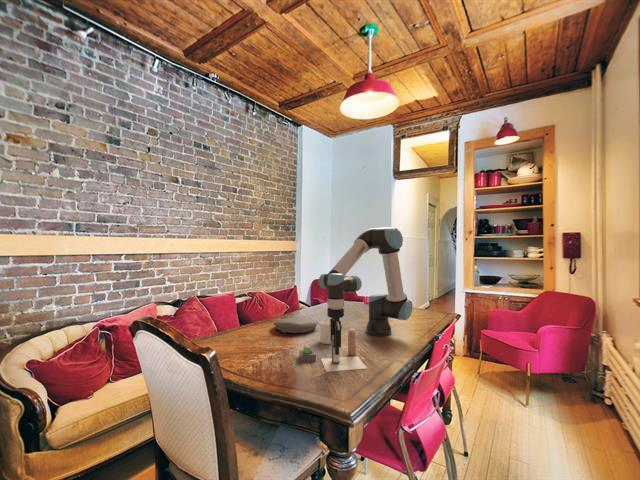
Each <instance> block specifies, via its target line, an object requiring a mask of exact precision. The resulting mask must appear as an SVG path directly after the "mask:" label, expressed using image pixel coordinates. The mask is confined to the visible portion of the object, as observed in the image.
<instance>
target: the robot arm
mask: <svg viewBox="0 0 640 480" xmlns="http://www.w3.org/2000/svg"><path fill="white" fill-rule="evenodd" d="M403 242H404V238H403V234H402V232H401V230H399V229H398V228H397V227H391V226H388V227H373V228H372V227H371V228H368V229H367V230H365V231H364V232H362V233H360V235H359V236H357V238H356V239H354V241H353V245H352V246H351V247H350V248H349V249H348V250H347V251H346V252H345V254H344V255H343V256H342V257H341V258H340V259H339V260H338V262H336V264H335V265H334V266H333V267H332V268H331V269H330V271H329V272H327V273H323V274H320V276H319V278H318V285H319V287H320V288H322V289H325V290H327V300H326V303H327V307H328V308H327V309H326V310H327V311H326V313H327V314H326V316H327V317H329V318H330V319H329V321H330V340H331V343H332V335H334V346H332V344H330V345H331V349H330V350H331V351H330V352H331V355H330V356H331V357H330V358H332V347H333V362H340V357H341V356H340V355H341V351H340V350H341V349H340V348H341V347H342V328H343V326H342V321H341V320H340V319H341V318H344V316H345V294H347V293H356V292H358V291H360V290H361V288H362V286H363V285H362V284H363V283H362V280H361V278H360V277H359V276H357V275H351V276H348V275H347V274H348V273H349V272H350V271H351V269H352V268H353V267H354V266H355V265H356V263H357V262H358V261H359V260H360V258H362V256H363V255H364V254H367V253H368V252H369V250H372V249H378V250H377V251H378V254H379V255H381V256H382V257H381V258H382V264H383V269H384V276H385V281H386V287H387V293H388V294H387V293H378V294H376V293H375V294H371V295H370V296H368V320H367V324H366V327H365V333H366V334H368V335H372V336H377V337H385V336H389V335H391V334H392V328H391V325H390V322H389V319H390V318H391V319H395V320H399V321H407V320H409V319H410V317H411V315H412V314H413V307H414V305H413V302H412V301H411V300H410V299H408V295H407V294H406V293H405V292H404V287H403V280H402V273H401V267H400V266H401V265H400V260H399V252H400V250H401V248H402V246H403V245H404V244H403Z"/></svg>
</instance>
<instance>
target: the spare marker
mask: <svg viewBox="0 0 640 480" xmlns="http://www.w3.org/2000/svg"><path fill="white" fill-rule="evenodd" d="M347 333H348V334H347V336H348V337H347V355H348V357H355V356H357V355H356V354H357V353H356V351H357V349H356V348H357V347H356V344H357V342H356V339H357V338H356V337H357V336H356V329H355V328H349V329H348V332H347Z"/></svg>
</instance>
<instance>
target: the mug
mask: <svg viewBox="0 0 640 480" xmlns="http://www.w3.org/2000/svg"><path fill="white" fill-rule="evenodd" d="M319 342H320V343H321V344H324V345H331V344H332V343H331V340H330V320H321V321H320V322H319Z"/></svg>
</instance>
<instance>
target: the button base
mask: <svg viewBox="0 0 640 480" xmlns="http://www.w3.org/2000/svg"><path fill="white" fill-rule="evenodd" d="M298 351H299V356H298V357H299V361H300V362H301V363H306V362H316V361H317V354H316V352H315V349H313V348H312V354H304V353H303V349H300V350H298Z"/></svg>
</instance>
